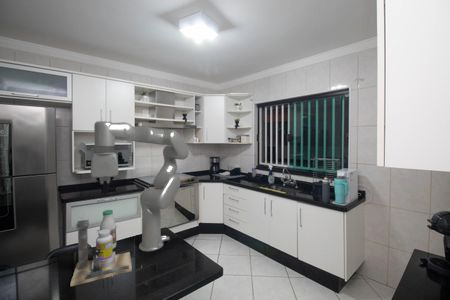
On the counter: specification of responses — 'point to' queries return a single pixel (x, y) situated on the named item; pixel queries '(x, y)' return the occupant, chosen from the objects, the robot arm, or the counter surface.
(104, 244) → the supplement bottle
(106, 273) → the press
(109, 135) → the robot arm
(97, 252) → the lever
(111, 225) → the milk bottle
